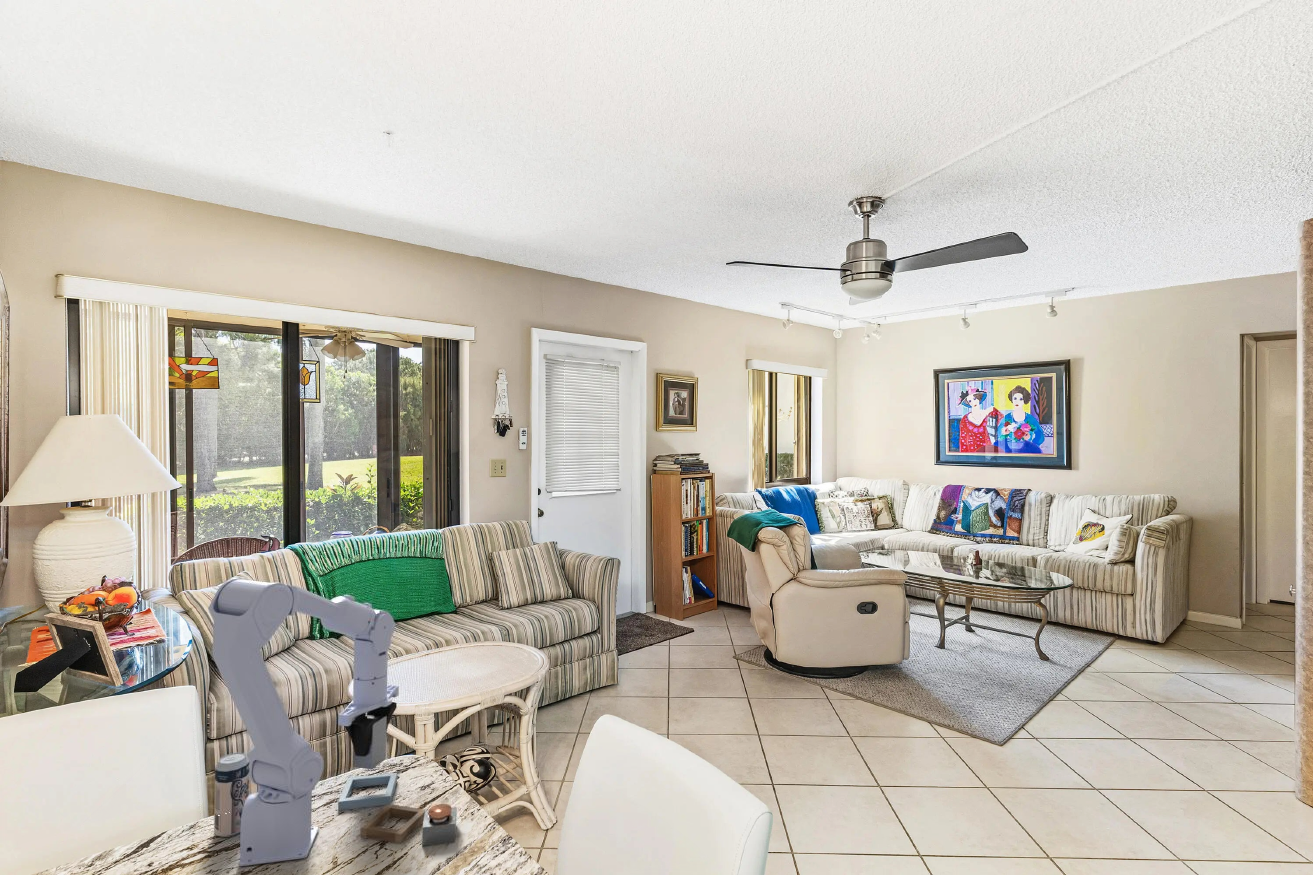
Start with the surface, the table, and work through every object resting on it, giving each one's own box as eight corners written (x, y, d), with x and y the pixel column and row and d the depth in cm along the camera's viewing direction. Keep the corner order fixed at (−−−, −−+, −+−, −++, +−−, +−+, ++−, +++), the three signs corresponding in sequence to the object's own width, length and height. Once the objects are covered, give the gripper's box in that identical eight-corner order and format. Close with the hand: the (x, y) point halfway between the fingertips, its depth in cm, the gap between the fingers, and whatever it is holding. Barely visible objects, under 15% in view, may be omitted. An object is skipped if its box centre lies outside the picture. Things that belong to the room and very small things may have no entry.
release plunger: (427, 838, 107) (427, 817, 107) (429, 826, 111) (429, 805, 111) (450, 836, 108) (450, 814, 108) (451, 823, 112) (452, 802, 112)
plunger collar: (422, 846, 106) (422, 827, 107) (425, 828, 111) (425, 810, 111) (454, 842, 108) (455, 823, 108) (456, 824, 113) (456, 807, 113)
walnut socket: (400, 843, 107) (401, 834, 107) (360, 836, 109) (360, 827, 109) (426, 818, 114) (426, 809, 114) (388, 812, 116) (388, 803, 116)
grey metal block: (372, 769, 119) (372, 724, 120) (352, 766, 120) (353, 722, 120) (385, 759, 123) (386, 715, 123) (367, 756, 124) (367, 713, 124)
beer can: (242, 837, 108) (243, 763, 108) (208, 841, 107) (210, 766, 107) (252, 821, 113) (253, 750, 113) (221, 824, 112) (222, 752, 112)
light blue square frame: (338, 810, 117) (338, 801, 117) (348, 785, 125) (348, 777, 125) (390, 804, 119) (390, 795, 119) (397, 780, 127) (397, 772, 127)
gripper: (363, 691, 114) (362, 771, 114) (413, 664, 128) (412, 735, 128) (328, 687, 116) (327, 766, 116) (380, 661, 130) (379, 731, 130)
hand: (369, 749), depth 122 cm, fingers closed on grey metal block, 4 cm apart
